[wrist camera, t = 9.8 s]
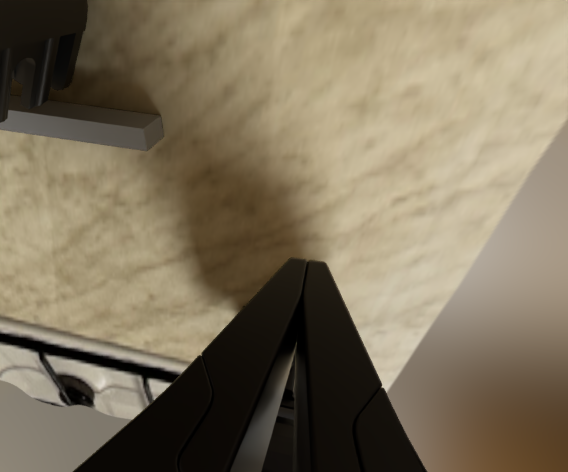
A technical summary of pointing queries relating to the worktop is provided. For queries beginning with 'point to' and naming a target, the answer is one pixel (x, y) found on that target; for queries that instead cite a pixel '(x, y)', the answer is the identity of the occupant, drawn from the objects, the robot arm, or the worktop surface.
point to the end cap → (38, 47)
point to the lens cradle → (85, 124)
